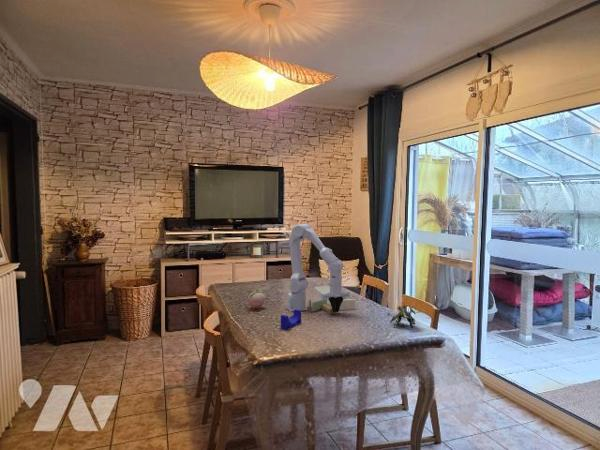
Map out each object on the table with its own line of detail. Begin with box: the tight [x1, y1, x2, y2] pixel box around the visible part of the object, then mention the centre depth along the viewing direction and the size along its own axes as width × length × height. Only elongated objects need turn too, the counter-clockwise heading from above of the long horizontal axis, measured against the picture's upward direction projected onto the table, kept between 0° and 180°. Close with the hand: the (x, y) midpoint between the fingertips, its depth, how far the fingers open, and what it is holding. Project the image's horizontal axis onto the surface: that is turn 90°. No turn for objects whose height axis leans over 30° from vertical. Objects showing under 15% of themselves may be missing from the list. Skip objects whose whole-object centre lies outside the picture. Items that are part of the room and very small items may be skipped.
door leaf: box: [311, 298, 328, 312], centre depth 198 cm, size 12×2×4 cm, turn 142°
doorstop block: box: [321, 303, 338, 315], centre depth 195 cm, size 4×10×2 cm, turn 21°
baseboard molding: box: [312, 283, 347, 301], centre depth 235 cm, size 31×3×12 cm
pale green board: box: [308, 298, 356, 314], centre depth 196 cm, size 25×1×6 cm, turn 108°
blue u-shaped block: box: [280, 309, 302, 331], centre depth 172 cm, size 12×4×6 cm, turn 148°
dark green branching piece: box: [386, 305, 416, 328], centre depth 171 cm, size 11×11×12 cm
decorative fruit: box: [247, 289, 267, 310], centre depth 198 cm, size 9×8×10 cm
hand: (335, 312), depth 189 cm, fingers closed, pressing on doorstop block
